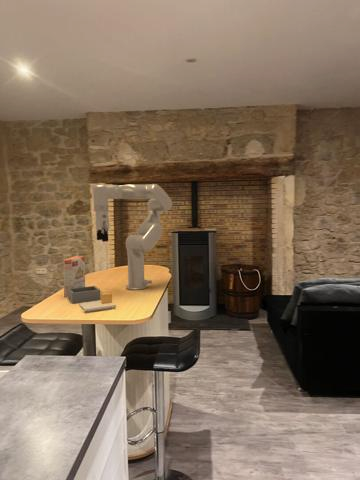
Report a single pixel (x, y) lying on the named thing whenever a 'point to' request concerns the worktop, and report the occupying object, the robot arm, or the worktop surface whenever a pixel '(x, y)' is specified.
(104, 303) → the lid
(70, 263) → the cracker box
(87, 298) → the tub
